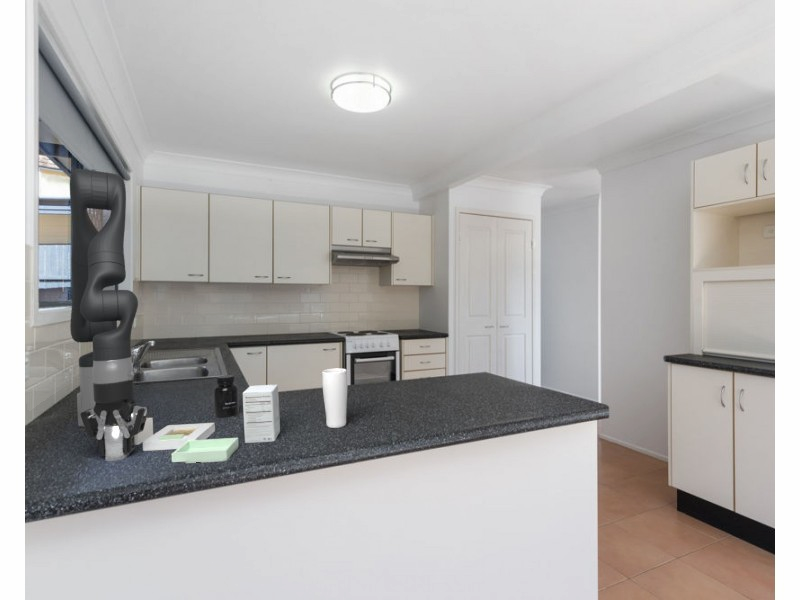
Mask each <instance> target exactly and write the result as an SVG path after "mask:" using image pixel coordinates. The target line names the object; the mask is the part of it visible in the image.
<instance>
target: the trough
mask: <svg viewBox="0 0 800 600" xmlns="http://www.w3.org/2000/svg"><path fill="white" fill-rule="evenodd" d="M239 447H240V446H239V437H228V438H227V437H225V438H209V439H208V438H206V439H205V440H188V441H187V442H185V443H184V444H183V445H182V446H180V447H179V448H178V449H175V450H174V451H173V452H172V453H171V462H172V463H178V462H179V463H180V462H181V463H182V462H183V463H185V464H197V463H196V462H201V463H214V462H215V463H216V462H227V461H229V459H230V458H231V457H232V455H233V454H234V453H235V452H236V451H237V449H238V448H239Z"/></svg>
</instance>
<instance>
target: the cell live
mask: <svg viewBox="0 0 800 600" xmlns="http://www.w3.org/2000/svg"><path fill="white" fill-rule="evenodd" d="M125 423H127V422H126V421H125ZM124 438H125V437H124V434H123V432H122V430H121V429H120V428H119V426H118V424H110V425H105V427H104V440H105V456H104V457H105V461H106V462H115V461H121V460H123V459H126V458H128V457H129V456H130V454H124V440H123V439H124Z"/></svg>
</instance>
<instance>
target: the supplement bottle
mask: <svg viewBox="0 0 800 600" xmlns="http://www.w3.org/2000/svg"><path fill="white" fill-rule="evenodd" d="M235 381H236V380H235V375H233V374H226V375H225V374H224V375H219V376H217V377H216V384H217V385H216V386H215V387H214V388H213V417H214V418H217V419H225V418H226V419H227V418H231V417H234V418H235V417H237V416H238V415H239V413H240V412H239V407H240V406H239V386H238V385H237V384H236V383H235Z"/></svg>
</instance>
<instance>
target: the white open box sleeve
mask: <svg viewBox="0 0 800 600" xmlns="http://www.w3.org/2000/svg"><path fill="white" fill-rule="evenodd" d="M153 418H154V417H147V418H146V422H145V426H144V430H143V431H142V432H140V433H138V434H137V435H135V446H137V445H138V446H139V445H141V444H143V441H145V440H146V439H148V438H149V437H151V436H152V435H154V422H153Z"/></svg>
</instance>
